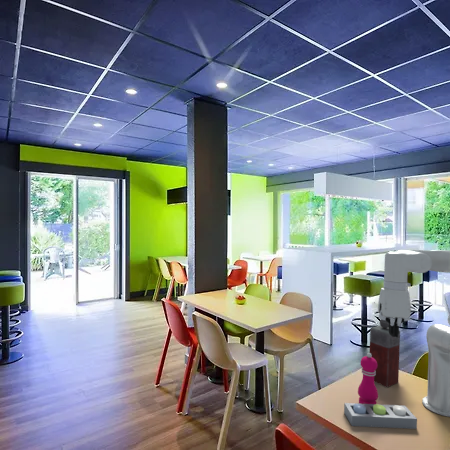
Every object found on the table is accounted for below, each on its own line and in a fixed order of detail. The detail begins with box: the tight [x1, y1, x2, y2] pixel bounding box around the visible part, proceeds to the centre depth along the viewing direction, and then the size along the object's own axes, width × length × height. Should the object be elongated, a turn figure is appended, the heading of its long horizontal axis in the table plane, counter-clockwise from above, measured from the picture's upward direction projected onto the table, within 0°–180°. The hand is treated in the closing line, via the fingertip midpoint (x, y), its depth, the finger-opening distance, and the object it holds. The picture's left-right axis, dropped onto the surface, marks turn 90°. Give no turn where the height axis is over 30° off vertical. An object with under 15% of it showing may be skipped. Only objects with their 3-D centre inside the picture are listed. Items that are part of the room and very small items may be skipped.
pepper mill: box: [357, 352, 379, 404], centre depth 127 cm, size 7×7×20 cm
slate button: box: [353, 403, 366, 414], centre depth 117 cm, size 4×4×4 cm
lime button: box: [373, 403, 386, 415], centre depth 117 cm, size 4×4×4 cm
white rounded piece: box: [393, 404, 406, 416], centre depth 116 cm, size 4×4×4 cm
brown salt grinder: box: [369, 319, 401, 388], centre depth 147 cm, size 9×11×28 cm
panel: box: [343, 402, 418, 430], centre depth 117 cm, size 22×8×4 cm, turn 88°
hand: (393, 335), depth 120 cm, fingers closed
